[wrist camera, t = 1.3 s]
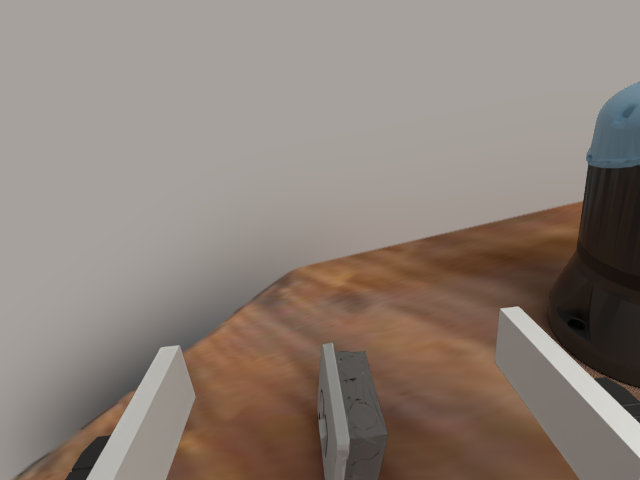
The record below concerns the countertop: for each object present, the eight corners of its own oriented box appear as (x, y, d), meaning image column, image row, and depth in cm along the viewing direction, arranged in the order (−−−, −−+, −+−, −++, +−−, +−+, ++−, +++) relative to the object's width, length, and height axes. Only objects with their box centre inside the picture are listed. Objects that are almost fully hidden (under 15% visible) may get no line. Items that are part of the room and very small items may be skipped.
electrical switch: (318, 409, 36) (302, 343, 31) (369, 400, 36) (361, 332, 31) (329, 519, 27) (310, 451, 23) (395, 507, 28) (390, 436, 23)
